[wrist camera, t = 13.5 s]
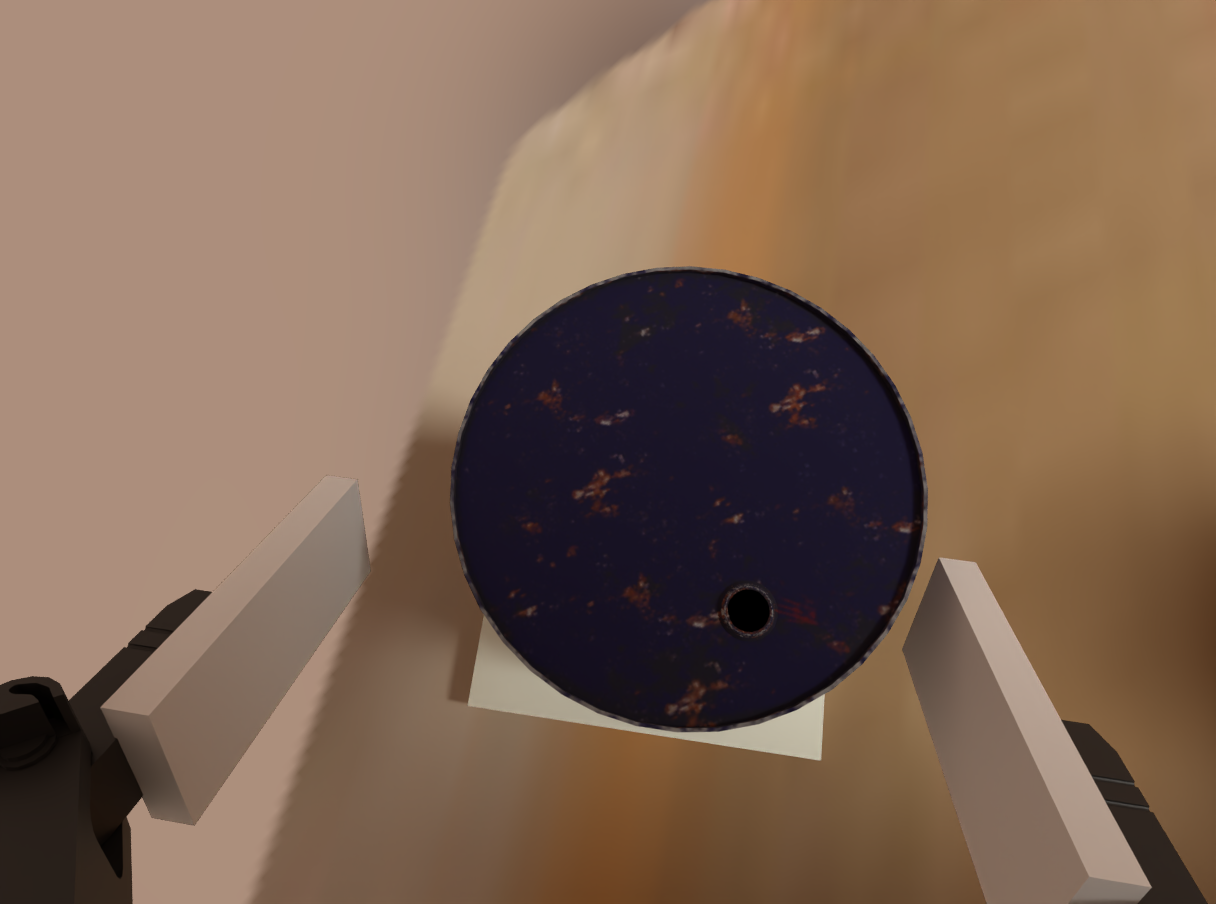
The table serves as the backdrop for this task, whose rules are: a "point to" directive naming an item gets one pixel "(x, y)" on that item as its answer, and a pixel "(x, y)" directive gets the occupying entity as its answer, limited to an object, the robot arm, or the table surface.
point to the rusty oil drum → (689, 499)
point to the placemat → (523, 692)
